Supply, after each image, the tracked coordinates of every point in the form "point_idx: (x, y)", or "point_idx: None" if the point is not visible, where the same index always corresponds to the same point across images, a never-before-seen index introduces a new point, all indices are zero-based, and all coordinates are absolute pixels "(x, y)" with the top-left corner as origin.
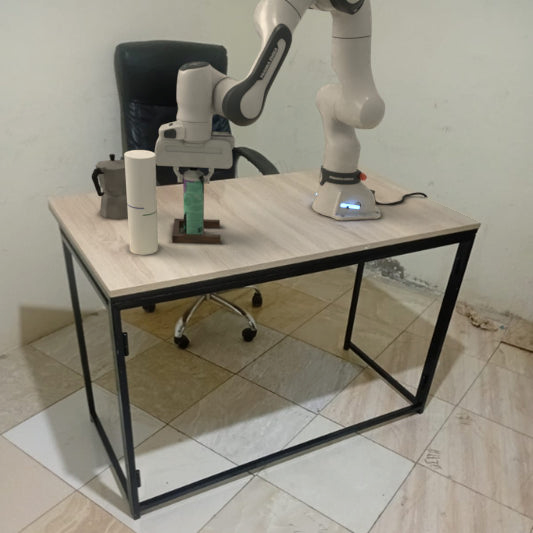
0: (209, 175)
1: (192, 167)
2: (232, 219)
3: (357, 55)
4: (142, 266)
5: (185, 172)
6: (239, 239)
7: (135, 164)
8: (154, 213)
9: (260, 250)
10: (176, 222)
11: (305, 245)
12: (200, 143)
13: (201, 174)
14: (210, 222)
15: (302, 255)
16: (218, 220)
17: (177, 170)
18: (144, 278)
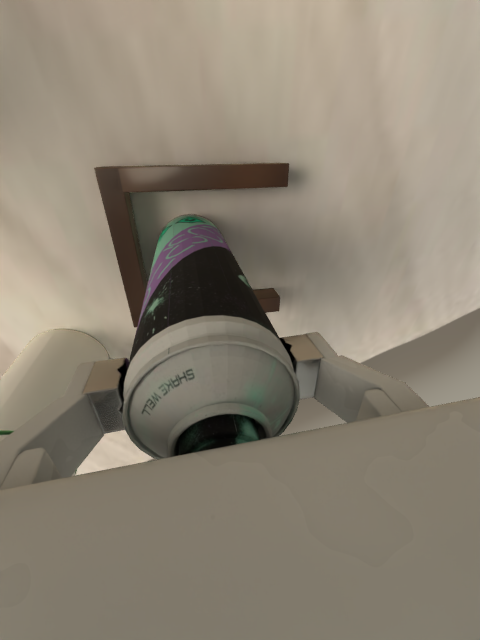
0: (337, 410)
1: None
2: (340, 74)
3: None
4: None
5: (141, 434)
6: (327, 267)
7: None
8: (75, 472)
9: (362, 319)
10: (117, 216)
11: (473, 277)
12: None
13: (281, 426)
14: (251, 187)
15: (439, 326)
16: (283, 173)
17: (52, 454)
18: (125, 455)
